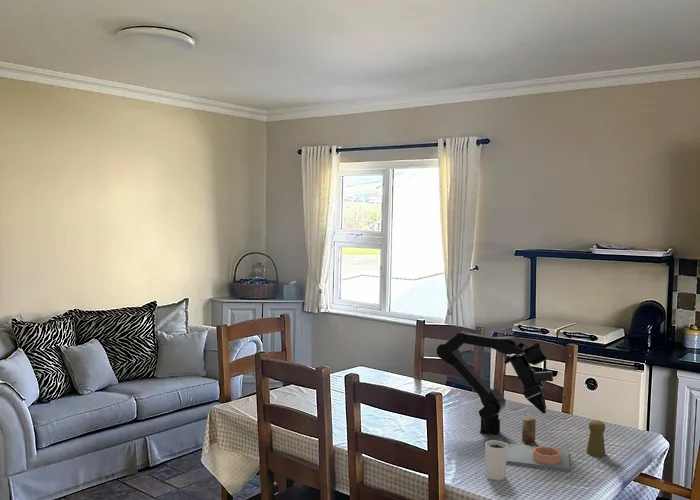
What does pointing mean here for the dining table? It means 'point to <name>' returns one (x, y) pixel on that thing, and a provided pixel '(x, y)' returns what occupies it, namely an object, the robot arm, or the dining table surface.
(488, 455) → the white cup
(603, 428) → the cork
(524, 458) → the slate board
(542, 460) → the terracotta ring
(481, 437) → the dining table surface
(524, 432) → the walnut cylinder
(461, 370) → the robot arm
